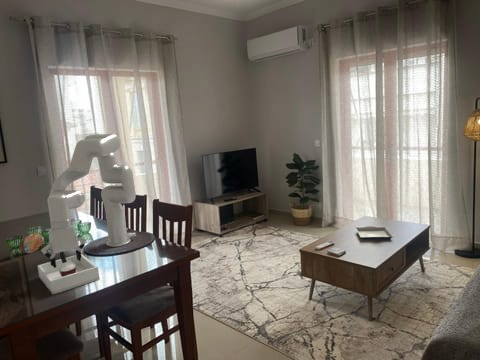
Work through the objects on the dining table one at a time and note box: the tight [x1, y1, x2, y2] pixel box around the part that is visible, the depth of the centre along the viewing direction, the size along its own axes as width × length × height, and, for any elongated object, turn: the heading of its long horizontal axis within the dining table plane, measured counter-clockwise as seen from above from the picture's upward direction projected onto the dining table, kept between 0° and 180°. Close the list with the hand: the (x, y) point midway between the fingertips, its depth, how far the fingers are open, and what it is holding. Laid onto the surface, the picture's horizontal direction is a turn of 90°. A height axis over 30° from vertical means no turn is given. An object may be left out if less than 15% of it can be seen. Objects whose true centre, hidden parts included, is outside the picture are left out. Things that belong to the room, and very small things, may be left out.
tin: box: [19, 232, 46, 254], centre depth 189 cm, size 15×3×8 cm, turn 168°
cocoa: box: [59, 251, 76, 277], centre depth 151 cm, size 10×6×12 cm, turn 27°
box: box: [37, 253, 100, 295], centre depth 151 cm, size 18×22×6 cm
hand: (66, 263), depth 151 cm, fingers open, 9 cm apart
